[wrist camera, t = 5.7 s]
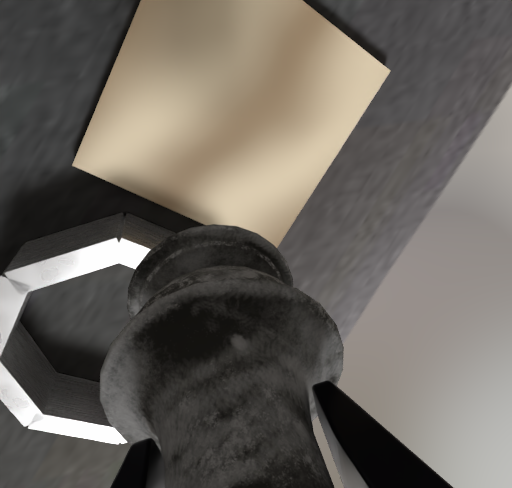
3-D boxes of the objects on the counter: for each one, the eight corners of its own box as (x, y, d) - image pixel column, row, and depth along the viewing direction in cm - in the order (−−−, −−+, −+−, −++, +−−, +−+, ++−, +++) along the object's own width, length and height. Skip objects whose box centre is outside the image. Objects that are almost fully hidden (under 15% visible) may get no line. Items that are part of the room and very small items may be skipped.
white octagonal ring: (-28, 369, 21) (-54, 414, 19) (49, 179, 18) (29, 201, 15) (175, 414, 26) (177, 454, 24) (268, 272, 23) (281, 300, 20)
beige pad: (74, 161, 18) (72, 165, 17) (180, -91, 15) (181, -97, 14) (269, 250, 22) (272, 254, 22) (384, 70, 19) (390, 70, 18)
